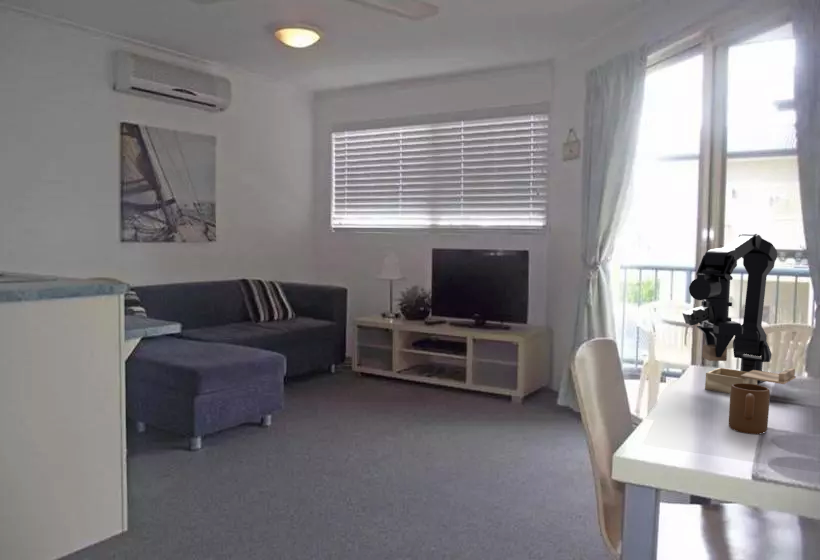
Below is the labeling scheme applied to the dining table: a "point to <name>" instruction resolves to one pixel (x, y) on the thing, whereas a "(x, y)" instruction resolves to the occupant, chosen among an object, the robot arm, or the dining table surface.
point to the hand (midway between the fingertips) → (714, 355)
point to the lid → (771, 376)
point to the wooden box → (725, 379)
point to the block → (713, 353)
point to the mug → (749, 408)
